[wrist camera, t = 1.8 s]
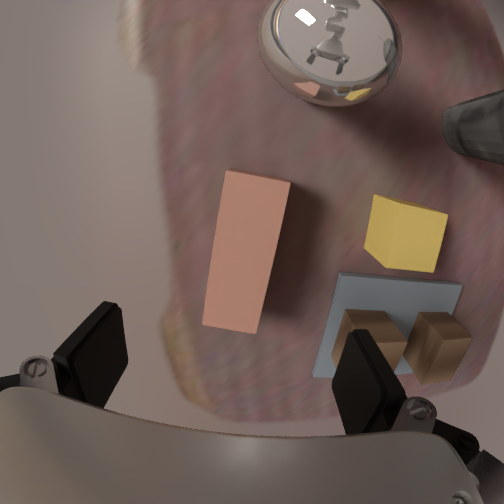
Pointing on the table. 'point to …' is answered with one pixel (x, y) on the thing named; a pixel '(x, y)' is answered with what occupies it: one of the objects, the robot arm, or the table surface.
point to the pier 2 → (436, 346)
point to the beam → (244, 249)
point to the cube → (404, 234)
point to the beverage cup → (477, 127)
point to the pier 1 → (379, 329)
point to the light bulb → (330, 48)
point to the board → (383, 307)
